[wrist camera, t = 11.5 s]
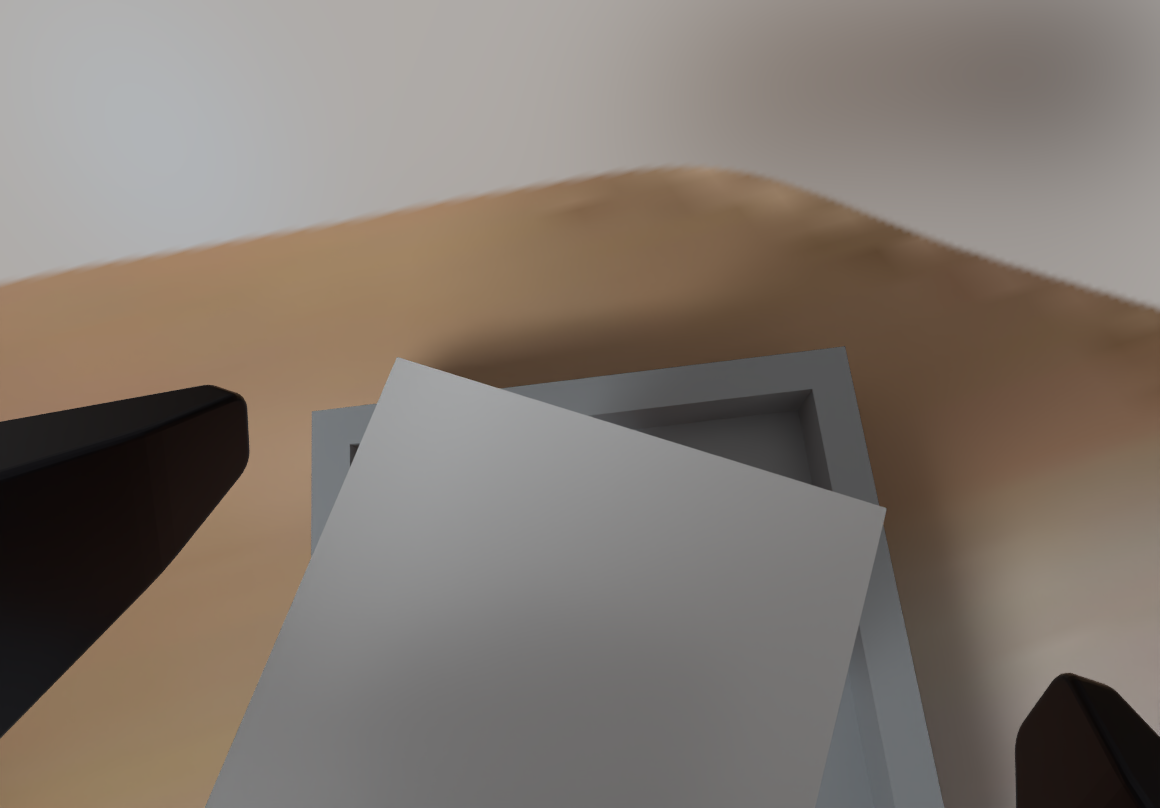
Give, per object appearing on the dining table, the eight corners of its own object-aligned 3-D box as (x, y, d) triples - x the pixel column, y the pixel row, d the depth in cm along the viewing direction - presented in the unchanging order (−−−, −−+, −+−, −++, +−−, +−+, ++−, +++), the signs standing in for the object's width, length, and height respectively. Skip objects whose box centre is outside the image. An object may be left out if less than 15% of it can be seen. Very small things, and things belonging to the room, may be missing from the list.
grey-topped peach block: (743, 585, 16) (886, 508, 6) (680, 810, 15) (738, 1130, 5) (542, 518, 17) (397, 356, 7) (469, 727, 15) (177, 871, 6)
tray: (929, 932, 15) (983, 990, 12) (362, 978, 15) (308, 1042, 13) (819, 384, 18) (845, 346, 16) (355, 440, 18) (311, 411, 16)
